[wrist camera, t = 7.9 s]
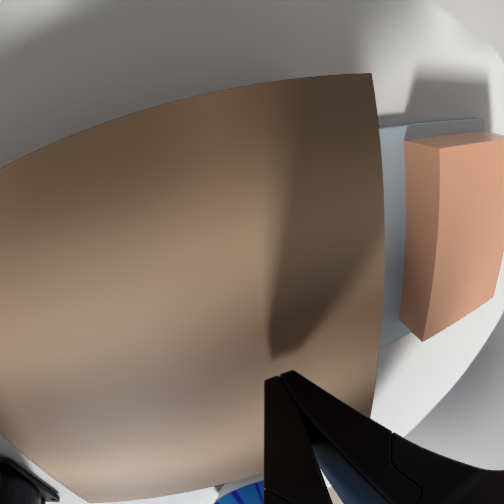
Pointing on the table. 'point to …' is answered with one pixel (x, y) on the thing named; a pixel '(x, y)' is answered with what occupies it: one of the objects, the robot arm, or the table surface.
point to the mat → (403, 210)
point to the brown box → (189, 282)
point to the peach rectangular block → (451, 228)
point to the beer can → (242, 491)
